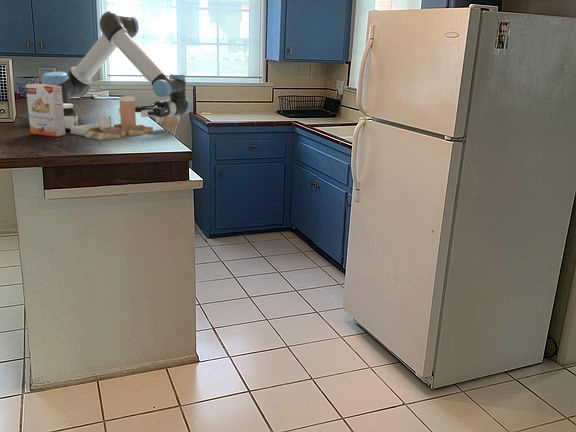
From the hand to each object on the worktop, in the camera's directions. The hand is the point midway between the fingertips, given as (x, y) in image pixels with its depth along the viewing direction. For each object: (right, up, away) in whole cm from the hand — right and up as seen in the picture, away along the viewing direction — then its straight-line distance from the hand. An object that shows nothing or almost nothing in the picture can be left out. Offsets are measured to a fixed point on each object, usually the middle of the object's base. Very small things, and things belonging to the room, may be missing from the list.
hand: (130, 112), depth 249 cm
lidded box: (-1, -9, +2) cm, 9 cm away
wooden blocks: (-4, -10, -2) cm, 11 cm away
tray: (-17, -9, 0) cm, 19 cm away
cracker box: (-33, -11, -7) cm, 36 cm away
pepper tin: (-8, -12, -8) cm, 17 cm away
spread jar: (-31, -7, +6) cm, 33 cm away
